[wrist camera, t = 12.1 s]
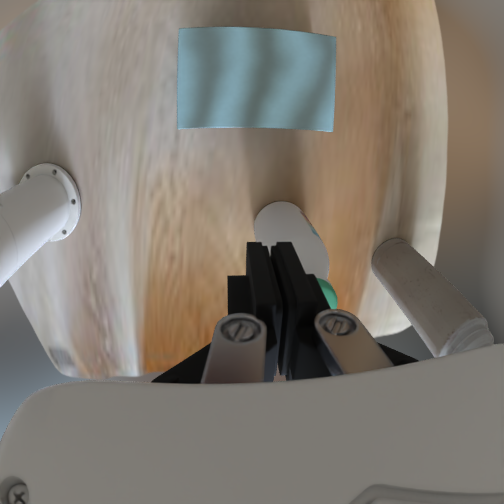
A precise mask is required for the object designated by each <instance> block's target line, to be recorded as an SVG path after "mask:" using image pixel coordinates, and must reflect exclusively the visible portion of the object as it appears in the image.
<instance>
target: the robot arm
mask: <svg viewBox="0 0 504 504" xmlns="http://www.w3.org/2000/svg"><path fill="white" fill-rule="evenodd" d="M56 171H57V172H56ZM75 200H76V201H75ZM80 211H81V202H80V196H79V192H78V189H77V187H76V184H75V182H74V181H73V179H72V178H71V176H70V175H69V174H68V173H67V172H66V171H65V170H64V169H62V168H61V167H59V166H57V165H55V164H50V163H42V164H39V165H36V166H34V167H32V168H30V169H29V170H28V171H27V172H26V173H25V174H24V176H23V177H22V179H21V181H20V183H19V184H18V185H16V186H15V187H13V188H11V189H9V190H7V191H5V192H3V193H1V194H0V287H1V286H2V285H3V284H4V283H5V282H6V281H7V280H8V279H9V278H10V277H11V276H12V275H13V274H14V273H15V272H16V270H17V269H19V268H20V267H21V266H22V265H23V264H24V263H25V262H26V261H27V260H28V259H29V258H30V257H31V256H32V255H33V254H34V253H35V252H36V251H37V250H38V249H39V248H40V247H41V246H42V245H43V244H45V243H46V242H47V241H59V240H61V239H63V238H65V237H66V236H68V235H69V234H70V233H71V232H72V231H73V230H74V228H75V227H76V225H77V223H78V220H79V217H80ZM277 363H278V368H279V373H280V375H285V376H286V381H276V382H273V380H274V376H276V370H277ZM0 504H504V344H493V345H487V346H482V347H478V348H474V349H469V350H465V351H461V352H457V353H453V354H449V355H445V356H441V357H437V358H433V359H428V360H424V361H418V360H416V359H414V358H412V357H410V356H407V355H405V354H403V353H401V352H398V351H396V350H394V349H391V348H389V347H387V346H384V345H382V344H380V343H377V342H376V341H375V339H374V338H373V337H372V336H371V334H370V333H369V332H368V330H367V329H366V328H365V327H364V325H363V324H362V323H361V321H360V320H359V319H358V318H357V317H356V316H355V315H353V314H352V313H350V312H348V311H344V310H340V309H331V307H330V305H329V303H328V301H327V299H326V297H325V295H324V293H323V291H322V289H321V286H320V284H319V282H318V280H317V278H316V276H315V275H314V274H306V273H305V271H304V268H303V266H302V264H301V262H300V260H299V257H298V255H297V253H296V251H295V248H294V246H293V244H292V242H276V246H271V252H270V254H269V250H268V247H267V246H262V242H247V251H246V275H242V276H228V315H227V316H225V317H223V318H222V319H221V320H219V321H218V323H217V325H216V327H215V330H214V334H213V338H212V342H211V343H210V344H208V345H207V346H205V347H204V348H202V349H201V350H199V351H198V352H196V353H194V354H193V355H191V356H190V357H188V358H187V359H185V360H184V361H182V362H180V363H179V364H177V365H176V366H174V367H173V368H171V369H169V370H168V371H166V372H165V373H163V374H161V375H160V376H158V377H157V378H155V379H154V380H153V381H152V382H151V383H149V382H125V381H96V380H88V381H76V382H68V383H62V384H56V385H52V386H49V387H45V388H43V389H40V390H38V391H36V392H34V393H32V394H31V395H30V396H29V397H27V398H26V399H25V400H24V402H23V403H22V404H21V405H20V407H19V408H18V409H17V411H16V412H15V414H14V416H13V417H12V419H11V421H10V423H9V424H8V426H7V428H6V431H5V432H4V435H3V437H2V439H1V441H0Z"/></svg>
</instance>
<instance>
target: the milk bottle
mask: <svg viewBox="0 0 504 504" xmlns="http://www.w3.org/2000/svg"><path fill="white" fill-rule="evenodd" d="M254 234H255V239H256V242H262V246H267V247H268V250H269V254H270V252H271V246H276V242H292V244H293V246H294V248H295V251H296V253H297V255H298V257H299V260H300V262H301V264H302V266H303V268H304V271H305V273H306V274H314V275H315V276H316V278H317V280H318V282H319V284H320V286H321V289H322V291H323V293H324V295H325V297H326V299H327V301H328V303H329V305H330V307H331V309H336V308H337V296H336V293H335V291H334V289H333V287H332V286H331V283H330V282H329V281H328V280H327V277H328V273H329V257H328V253H327V250H326V248H325V246H324V244H323V242H322V240H321V238H320V237H319V235H318V234H317V232H316V231H315V229H314V227H313V226H312V225H311V223H310V222H309V220H308V219H307V217H306V216H305V214H304V213H303V212H302V211H301V209H300V208H299V207H297V206H296V205H294V204H292V203H289V202H284V201H279V202H274V203H271V204H269V205H267V206H266V207H264V208H263V209H262V210H261V211H260V212H259V213H258V215H257V217H256V219H255V223H254Z"/></svg>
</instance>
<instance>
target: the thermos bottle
mask: <svg viewBox="0 0 504 504" xmlns="http://www.w3.org/2000/svg"><path fill="white" fill-rule="evenodd" d="M372 270H373V273H374V274H375V276H376V277H377V278H378V279H379V281H380V282H381V283H382V285H383V286H384V287H385V289H386V290H387V291H388V293H389V294H390V295H391V296H392V298H393V299H394V300H395V302H396V303H397V305H398V306H399V307H400V309H401V310H402V311H403V313H404V314H405V315H406V317H407V318H408V320H409V321H410V322H411V324H412V325H413V327H414V328H415V329H416V331H417V332H418V334H419V335H420V336H421V338H422V339H423V341H424V342H425V344H426V345H427V347H428V348H429V350H430V351H431V352H432V354H433V355H434V357H435V358H437V357H441V356H445V355H449V354H453V353H457V352H461V351H465V350H469V349H474V348H478V347H482V346H487V345H493V340H494V339H493V336H492V335H491V333H490V330H489V329H488V323H487V320H486V319H485V318H484V317H483V316H482V315H481V314H480V313H479V312H478V311H477V310H476V309H475V308H474V307H473V306H472V305H471V304H470V303H469V302H468V301H467V300H466V298H465V297H464V296H463V295H462V294H461V293H460V292H459V291H458V290H457V289H456V288H455V287H454V286H453V285H452V284H451V283H450V282H449V281H448V280H447V279H446V278H445V277H444V276H443V275H442V274H441V273H440V272H439V271H437V270H436V269H435V268H434V267H433V266H432V265H431V264H430V263H429V262H428V261H427V260H426V259H425V258H424V257H423V256H421V255H420V254H419V253H418V252H417V251H416V250H415V249H414V248H413V247H411V246H410V245H409V244H408V243H407V242H406V241H404V240H402V239H398V238H394V239H390V240H388V241H386V242H384V243H383V244H382V245H380V246H379V248H378V249H377V250H376V252H375V253H374V256H373V258H372Z"/></svg>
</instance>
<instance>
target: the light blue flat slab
mask: <svg viewBox="0 0 504 504" xmlns="http://www.w3.org/2000/svg"><path fill="white" fill-rule="evenodd" d="M335 74H336V37H333V36H328V35H322V34H315V33H308V32H300V31H292V30H282V29H270V28H253V27H196V28H180V29H179V38H178V69H177V129H190V128H229V127H244V128H283V129H302V130H316V131H328V132H333V122H334V102H335Z"/></svg>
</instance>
